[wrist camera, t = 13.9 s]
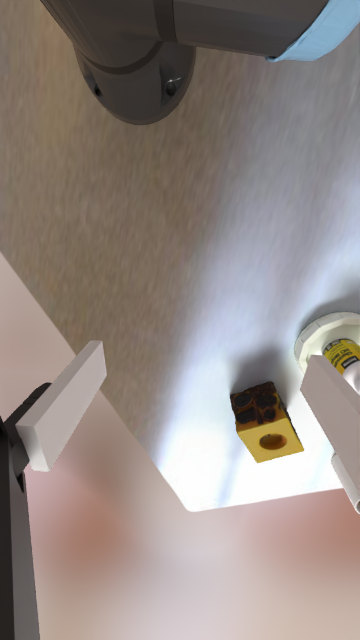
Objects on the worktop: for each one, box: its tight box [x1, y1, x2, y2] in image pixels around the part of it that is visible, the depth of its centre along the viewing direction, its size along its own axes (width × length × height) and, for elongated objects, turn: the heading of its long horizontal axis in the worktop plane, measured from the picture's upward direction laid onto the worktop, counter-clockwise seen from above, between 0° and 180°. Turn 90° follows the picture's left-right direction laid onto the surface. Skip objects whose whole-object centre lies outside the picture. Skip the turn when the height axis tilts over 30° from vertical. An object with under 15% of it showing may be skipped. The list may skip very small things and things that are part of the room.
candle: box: [230, 382, 304, 463], centre depth 48 cm, size 10×10×10 cm
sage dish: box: [294, 312, 360, 375], centre depth 43 cm, size 15×15×3 cm
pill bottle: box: [321, 337, 360, 395], centre depth 39 cm, size 6×6×11 cm
